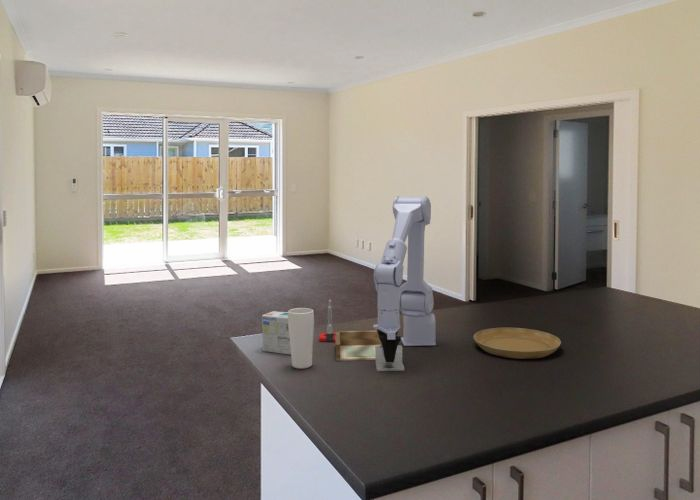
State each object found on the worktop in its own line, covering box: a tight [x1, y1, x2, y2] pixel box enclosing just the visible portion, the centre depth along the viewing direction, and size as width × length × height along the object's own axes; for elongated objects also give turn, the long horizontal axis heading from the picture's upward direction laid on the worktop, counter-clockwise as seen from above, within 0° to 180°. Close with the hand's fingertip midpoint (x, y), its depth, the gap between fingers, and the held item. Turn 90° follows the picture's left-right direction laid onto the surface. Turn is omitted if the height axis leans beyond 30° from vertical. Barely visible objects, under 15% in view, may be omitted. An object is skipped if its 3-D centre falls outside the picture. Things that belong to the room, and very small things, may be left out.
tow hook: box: [318, 299, 336, 343], centre depth 178 cm, size 8×13×9 cm
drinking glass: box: [287, 307, 315, 370], centre depth 151 cm, size 7×7×15 cm
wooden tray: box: [334, 329, 382, 360], centre depth 163 cm, size 16×14×4 cm
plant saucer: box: [473, 327, 562, 360], centre depth 165 cm, size 24×24×3 cm
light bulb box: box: [261, 310, 291, 356], centre depth 166 cm, size 11×7×11 cm, turn 65°
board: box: [335, 345, 382, 362], centre depth 163 cm, size 16×14×1 cm
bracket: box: [374, 344, 405, 372], centre depth 150 cm, size 7×6×5 cm
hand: (388, 359), depth 152 cm, fingers open, 4 cm apart
